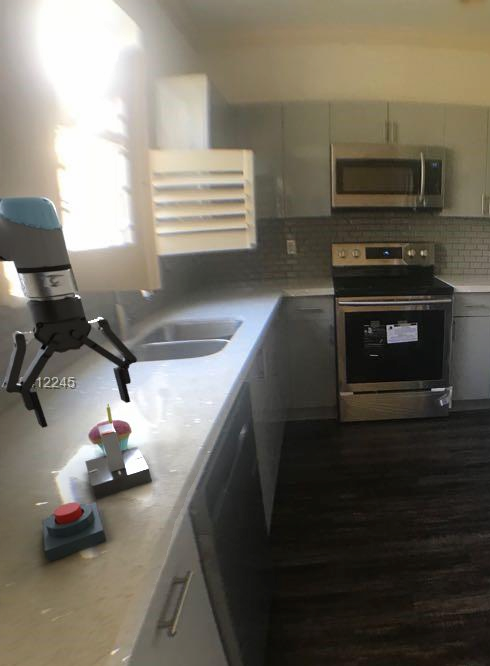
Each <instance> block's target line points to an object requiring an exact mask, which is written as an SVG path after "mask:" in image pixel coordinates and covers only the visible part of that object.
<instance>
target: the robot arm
mask: <svg viewBox="0 0 490 666" xmlns="http://www.w3.org/2000/svg"><path fill="white" fill-rule="evenodd" d="M0 262H1V263H2V262H13V264H14V268H15V269H16V273H17V277H18V279H19V283H20V286H21V290H22V293H23V296H24V297H25V298H27V299H29V300H27V302H26V305H27V308H28V312H29V315H30V319H31V321H32V325H33V329H32V331H24V332H23V331H22V332H20V331H17V330H14V331H13V332H12V333H11V338H12V343H13V346H12V351H11V355H10V359H9V361H8V365H7V369H6V373H5V377H4V381H3V383H2V388H3V389H4V390H5V391H6V392H7V393H9V394H12V393H18V394H20V397H21V400H22V403H23V406H24V408H25V409H27V410H28V412H30V411H34V414H35V417H36V420H37V423H38V425H39V426H40V427H41V428H42V429H43V428H47V427H49V425H48V423H47V419H46V416H45V413H44V410H43V407H42V405H41V401H40V399H39V395H38V391H36V389H35V388H33V386H34V384H35V383H36V382H37V380H38V378H39V376H40V375H41V373H42V371H43V369H44V368H45V366H46V364H47V363H48V361H49V359H51V358H52V356H53V355H54V353H60V354H62V353H66V352H68V351H76V350H81V348H82V347H84V346H86V347H87V348H89V349H90V350H92V351H94V352H95V353H97V354H98V355H100V356H101V357H103V358H104V359H106V360H108V361H109V362H111V363H112V364H114V365H116V367H112V370H113V373H114V377H115V380H116V386H117V389H118V392H119V396H120V400H121V401H122V402H124V403H125V404H128V403H131V398H130V394H129V390H128V386H127V385H130V384H131V382H132V379H131V375H130V371H129V369H130V366H131V365H132V364H135V363H137V361H138V358H137V357H136V356H135V355H134V353H133V352H132V351H131V350H130V349H129V348H128V347H127V346H126V345H125V344H124V343H123V342H122V340H121V339H120V338H119V336H118V335H116V333H115V332H114V331H113V330H112V328H111V326H110V323H109V321H108V319H107V318H103V317H101V316H98V317H97V318H95V319H94V320H90V321H89V320H87V317H86V314H85V313H86V312H85V309H84V306H83V303H82V298H81V296H79V295H78V294H77V292H78V291H79V288H78V285H77V282H76V277H75V274H74V271H73V266H72V264H71V261H70V257H69V253H68V249H67V243H66V240H65V236H64V231H63V225H62V223H61V221H60V218H59V215H58V213H57V209H56V206H55V204H54V203H53V201H52V200H50V199H49V198H47V197H39V196H38V197H35V196H32V197H31V196H20V197H19V196H17V197H16V196H14V197H0ZM92 329H94V330H95V331H96V332H100V333H101V334H102V335H103V336H104V337H105V339H107V341H108V342H109V343H110V344H111V346H113V347H114V349H116V351H117V352H118V353H119V354H120V355H121V356H122V357H123V358H120V357H118V356H117V355H115V354H114V353H112V352H110V351H109V350H107V349H106V348H104V347H103V346H101V345H100V344H98V343H97V342H95V341H94V340H92V339H91V338H89V336H90V333H91V331H92ZM34 339H35V340H36V341H38V342H39V343H41V344H40V346H39V348H38V350H37V353H36V354H35V356H34V358H33V360H32V361H31V363H30V365H29V367H28V368H27V369H26V371H25V373H24V375H22V378H21V379H20V374H21V372H22V368H23V363H24V359H25V356H26V352H27V346H30V344H31V343H32V340H34ZM19 379H20V381H19Z"/></svg>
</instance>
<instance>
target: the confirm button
mask: <svg viewBox="0 0 490 666" xmlns="http://www.w3.org/2000/svg"><path fill="white" fill-rule="evenodd" d="M80 504H81V503H79V502H76V501H75V502H73V501H72V502H68V503H64V504H62V505H60V506H58V507H56V509H55V510H54V511H53V514H54V515H55V518H56V520H57V523H59V524H66V523H69V522H72V521H75V520H76V519H78V518H79V517H81V516H82V510H81V507H80Z"/></svg>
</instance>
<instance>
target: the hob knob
mask: <svg viewBox="0 0 490 666" xmlns="http://www.w3.org/2000/svg"><path fill="white" fill-rule="evenodd" d="M98 430H99V434H100V437H101V441H102V444H103V448H104V451H105V454H104V456H106V458H107V462H108V464H109V467H110V470H111V472H113V471H116V470H119V469H122V468H125V463H124V460H123V456H122V452H121V449H120V445H119V441H118V438H117V434H116V431H115V429H114V427H113V424H112V423H110V424H107V425H103V426H99V427H98Z"/></svg>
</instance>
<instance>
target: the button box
mask: <svg viewBox="0 0 490 666" xmlns="http://www.w3.org/2000/svg"><path fill="white" fill-rule="evenodd" d="M79 504H80V507H81V510H82V516H81V517H79V518H78V519H76V520H75V521H72V522H69V523H66V524H59V523H57V520H56V518H55V515H54V513H52V514H51V515H50V516H49V517H47V518H44V519H42V531H43V544H44V554H45V556H46V558H47V561H48V563H52V562H53V561H56V560H59V559H62V558H64V557H67V556H70V555H73V554H74V553H78V552H80V551H83V550H85V549H88V548H91V547H93V546H96V545H99V544H101V543H104V542H106V541H107V537H106V534H105V528H104V525H103V522H102V518H101V515H100V511H99V507H98V504H97V502H96V501H95V502H91V503H89V504H86V503H79Z"/></svg>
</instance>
